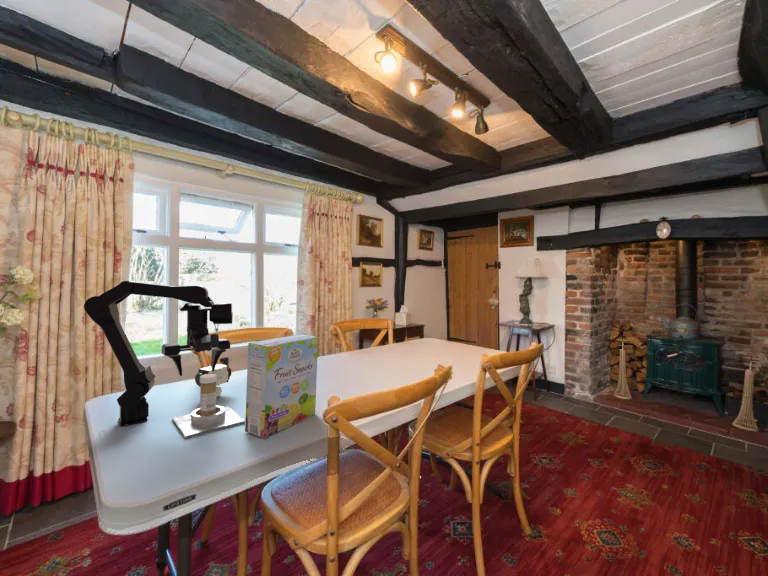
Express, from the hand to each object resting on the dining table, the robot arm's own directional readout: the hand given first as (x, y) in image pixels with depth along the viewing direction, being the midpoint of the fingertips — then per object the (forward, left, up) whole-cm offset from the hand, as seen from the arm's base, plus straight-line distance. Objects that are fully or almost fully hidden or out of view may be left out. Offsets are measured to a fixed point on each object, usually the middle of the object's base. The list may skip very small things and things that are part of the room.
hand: (197, 373), depth 111 cm
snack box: (+18, -24, -13) cm, 33 cm away
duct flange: (+1, -9, -13) cm, 16 cm away
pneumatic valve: (+9, +13, -13) cm, 21 cm away
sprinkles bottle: (+1, -9, -12) cm, 15 cm away
